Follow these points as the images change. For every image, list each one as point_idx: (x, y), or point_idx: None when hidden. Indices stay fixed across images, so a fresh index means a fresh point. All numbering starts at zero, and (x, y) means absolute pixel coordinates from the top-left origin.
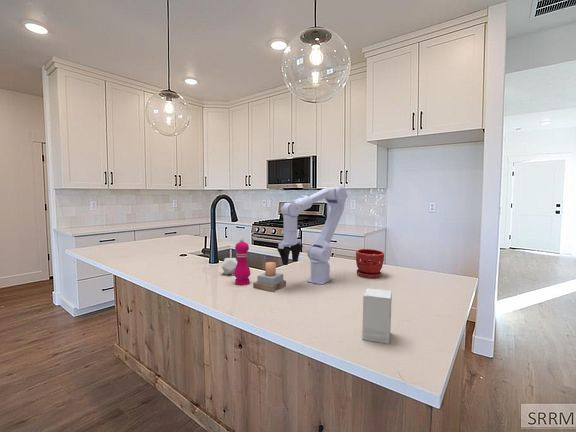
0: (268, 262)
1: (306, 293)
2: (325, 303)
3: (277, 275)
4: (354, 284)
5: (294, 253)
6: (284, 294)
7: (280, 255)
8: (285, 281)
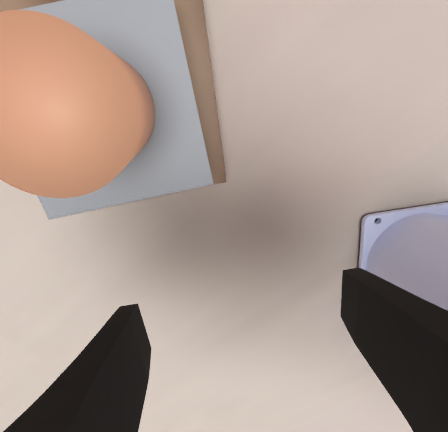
0: (36, 51)
1: (197, 324)
2: (158, 423)
3: (139, 179)
4: None
5: (421, 374)
6: (103, 267)
7: (13, 428)
8: (218, 181)
